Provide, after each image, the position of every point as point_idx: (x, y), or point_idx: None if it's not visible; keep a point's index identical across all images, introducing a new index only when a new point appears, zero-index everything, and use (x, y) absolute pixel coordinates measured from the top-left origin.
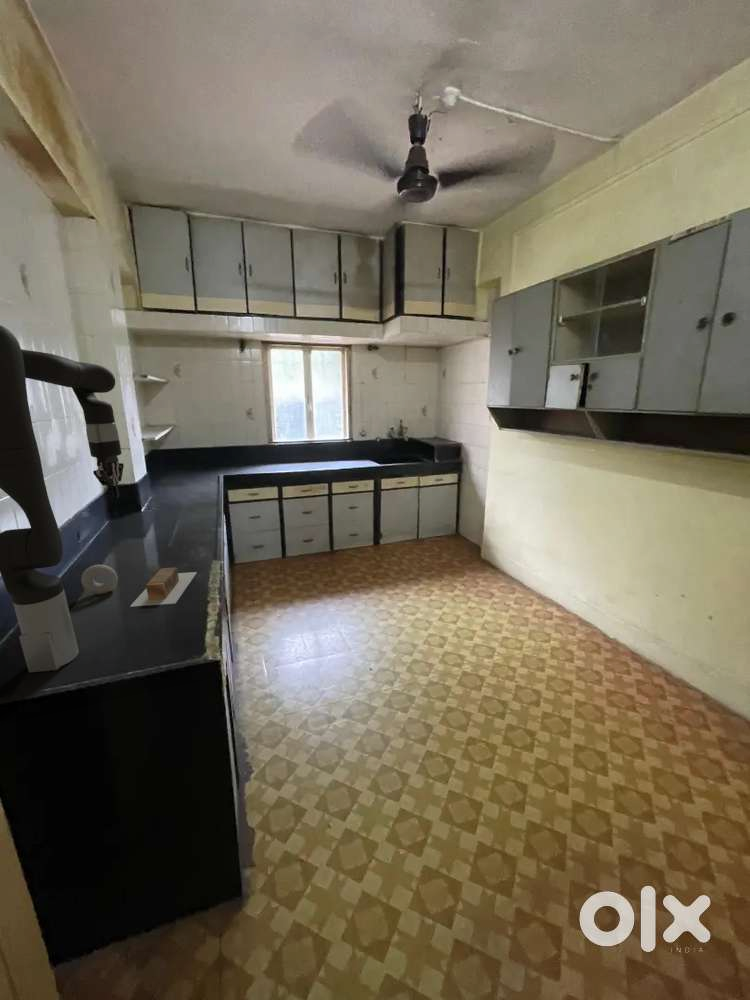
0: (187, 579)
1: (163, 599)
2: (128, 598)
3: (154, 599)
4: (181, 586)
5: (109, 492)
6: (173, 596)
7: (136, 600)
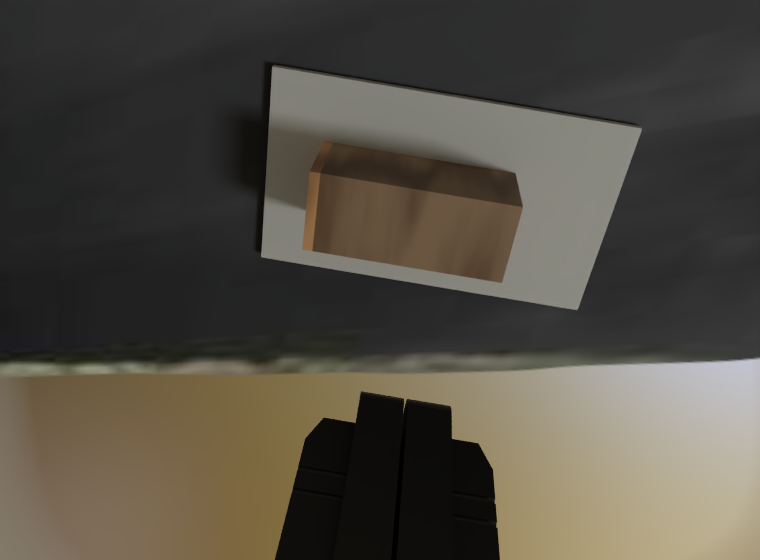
0: None
1: None
2: (388, 26)
3: None
4: None
5: (291, 495)
6: None
7: (332, 83)
